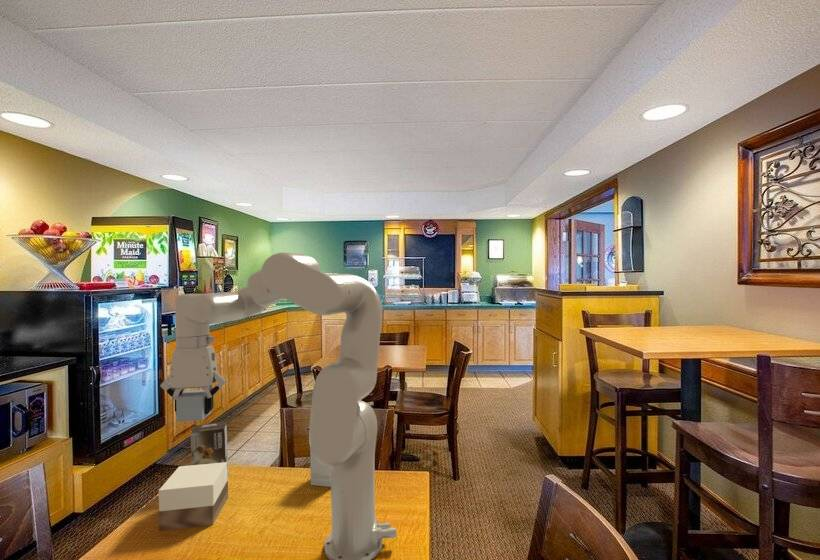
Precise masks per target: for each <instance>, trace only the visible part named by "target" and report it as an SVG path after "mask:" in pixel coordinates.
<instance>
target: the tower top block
mask: <svg viewBox="0 0 820 560" xmlns="http://www.w3.org/2000/svg"><path fill="white" fill-rule="evenodd" d="M227 481H228V479H227V462H223V463H212V464H201V465H192V464H191V465H181V466H178V467H177V468H176V470H175V471H174V472H173V473H172V474H171V475H170V476H169V478H168V479H167V480H166V481H165V482H164V484H163V485H162V486H161V487H160V488H159V489H158V512H159V511H168V510H177V509H186V508H195V507H205V506H214V504H215V502H216V500H217V498H218V497H219V495H220V493H221V491H222V489H223V488H224V486H225V484H226V482H227Z"/></svg>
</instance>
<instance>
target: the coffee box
mask: <svg viewBox="0 0 820 560" xmlns="http://www.w3.org/2000/svg"><path fill="white" fill-rule="evenodd" d="M227 423H228V422H227V421H221V422H214V423H211V422H210V423H205V424H197V425H196V424H195V425H194V426H193V428H192V429H191V432H190V451H191V452H190V453H191V454H190V455H191V458H190V459H191V465H201V464H212V463H223V462H227V480H228V478H229V459H228V457H229V455H228V454H229V453H228V450H229V449H228V426H227V425H228V424H227Z"/></svg>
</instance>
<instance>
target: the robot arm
mask: <svg viewBox="0 0 820 560" xmlns="http://www.w3.org/2000/svg"><path fill="white" fill-rule="evenodd" d="M284 300H286V301H288V302H290V303H292V304H294V305H296V306H298V307H300V308H302V309H304V310H306V311H308V312H309V313H312V314H315V315H318V316H333V315H337V314H342V313H343V314H344V313H345V321H344V322H343V323H344V324H343V327H342V330H341V334H340V344H339V350H338V351H339V353H338V356H337V359H336V360H334V361H333V362H331V363H329V364H327V365H326V366H324V367H323V368H322V369H321V371H320V372H318V375H317V376H316V379H315V381H314V383H313V388H312V394H311V395H312V397H311V407H310V417H309V418H310V419H309V428H308V443H309V449H310V448H311V451H312V454H313V455H314V457H315V458H316V460H317V461H318V462H320V463H321V464H323V465H325V466H331V487H330V491H331V492H330V505H331V506H330V508H331V510H330V511H331V532H330V533H329V534H328V536H327V537H326V539H325V541H324V554H325V556H326V558H328V560H373V559H374V558H376V557H377V556H378V555H379V553H380V552H381V550H382V548H383V539H394V538H397V527H396V526H395V527H391V523H390V522H383V523H380V522H377V516H376V502H375V501H376V498H375V497H376V495H375V494H376V493H375V492H376V491H375V488H376V487H375V472H376V471H375V470H376V469H375V457H376V456H375V455H376V454H375V453H376V443H377V437H378V436H377V434H378V419H377V415H376V413H375V411H374V409H373V407H372V406H371V405H370V404H369V403H367V402H365V401H363V399H365V398H366V397H367V396H368V395H370V393H372V391H373V390H374V389H375V387H376V384H377V377H378V366H379V354H380V339H381V333H382V332H381V331H382V323H383V322H382V321H383V305H382V301H381V300H382V299H381V297H380V295H379V293H378V291H377V289H376V288H375V287H374V286H373V284H371V283H370V282H369V281H368V280H366V279H365V278H363V277H361V276H359V275H355V274H351V273H325V272H323V271H322V268H321V266H320V264H319V262H318V261H317V260H316V259H315V258H314V257H312V256H310V255H308V254H303V253H294V252H277V253H273V254H272V255H270V256H269V257H268V258H267V259H266V260H264V262H263V264H262V266H261V269H260V270H257V271H255V272H253V273H252V274H250V276H249V277H248V280H247V287H244V288H241V289H240V290H236V291H227V292H226V291H225V292H222V291H221V292H211V293H185V294H179V295H177V296H176V297H175V299H174V307H175V308H174V309H175V310H174V311H175V314H174V315H175V317H174V318H175V348H173V350H172V355H171V360H170V369H169V375H168V376H167V377H166V379H165V380H164V381H162V382H161V384H159V385H160V386H159V387H160V388H161V389H162V390H164V391H165V392H166V394H168V395H169V396H170V397H171V398H172V400H174V412H175V415H176V417H177V412H176V397H178V396H179V395H181V394H183V393H184V392H185V389H202V390H204V392H205V394H206V398H205V414H208V413H209V412H211V413H212V412H213V411H212V410H213V409H214V406H215V405H214V396H215V395H216V394H217V392H218V391H220V389H221V388H222V387H224V385H225V384H226V383H227V380H226V379H225V377H223V376H222V375H221V374H220V373H219V372H218V365H217V357H216V351H215V348H214V346H213V345H211V344H212V343H216V337H215V336H211V334H210V325H215V324H221V323H228V322H234V321H239V320H242V319H243V320H244V319H245V318H248V317H250V316H253V315H255V314H259V313H261V312H263V311H265V310H266V309H267V308H269V307H270V306H271V305H274V304H277V303H279V302H281V301H284ZM216 382H217V384H216V385H215V386H213V384H214V383H216Z"/></svg>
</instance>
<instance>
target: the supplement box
mask: <svg viewBox="0 0 820 560" xmlns="http://www.w3.org/2000/svg"><path fill="white" fill-rule="evenodd" d="M309 450H310V452H309V453H310V455H309V456H310V457H309V458H310V467H309V468H310V485H311V486H318V487H327V488H331V466H325V465H323V464H321V463H320V462H318V461H317V460H316V458H315V457H314V455H313V454H312V451H311V448H310V447H309Z"/></svg>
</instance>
